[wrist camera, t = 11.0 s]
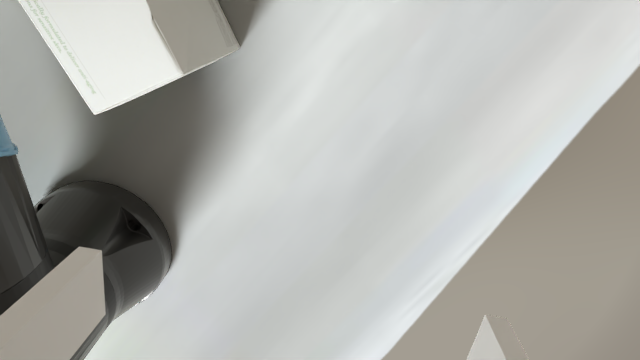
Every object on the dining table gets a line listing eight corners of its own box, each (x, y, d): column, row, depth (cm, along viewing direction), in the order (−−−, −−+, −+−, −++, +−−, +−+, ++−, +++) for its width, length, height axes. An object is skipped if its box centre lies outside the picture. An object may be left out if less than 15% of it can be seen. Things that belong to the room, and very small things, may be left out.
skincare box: (136, -11, 35) (-9, -29, 20) (201, -46, 34) (95, -90, 19) (185, 79, 38) (87, 120, 23) (247, 50, 36) (184, 74, 22)
